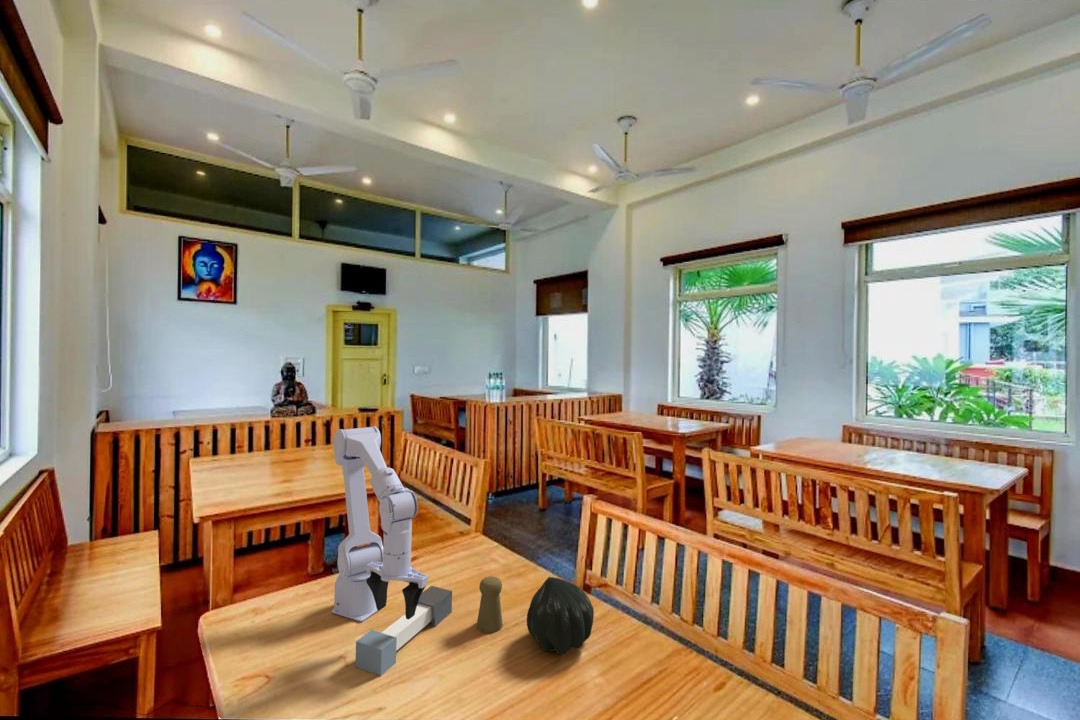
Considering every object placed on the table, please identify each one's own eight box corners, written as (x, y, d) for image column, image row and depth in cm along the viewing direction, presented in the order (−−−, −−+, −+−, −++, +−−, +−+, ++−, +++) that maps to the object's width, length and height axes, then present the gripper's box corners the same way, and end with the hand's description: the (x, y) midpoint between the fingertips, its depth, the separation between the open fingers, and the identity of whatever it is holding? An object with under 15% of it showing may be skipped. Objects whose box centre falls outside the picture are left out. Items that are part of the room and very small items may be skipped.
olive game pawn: (498, 634, 112) (499, 586, 112) (472, 630, 113) (474, 583, 113) (505, 620, 118) (507, 574, 118) (481, 616, 119) (482, 571, 119)
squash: (616, 628, 106) (585, 560, 114) (563, 656, 97) (532, 580, 105) (583, 646, 115) (556, 581, 123) (531, 672, 106) (505, 601, 114)
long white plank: (364, 661, 100) (365, 644, 100) (421, 615, 117) (422, 600, 117) (378, 666, 99) (378, 649, 98) (434, 618, 116) (434, 604, 116)
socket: (355, 666, 100) (355, 641, 99) (371, 654, 104) (371, 629, 104) (380, 676, 97) (381, 650, 97) (395, 662, 101) (396, 637, 101)
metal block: (413, 620, 117) (414, 598, 116) (431, 606, 123) (431, 585, 123) (434, 626, 114) (435, 604, 114) (451, 612, 121) (452, 591, 121)
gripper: (356, 549, 104) (355, 613, 105) (413, 564, 99) (411, 631, 99) (379, 538, 111) (378, 597, 111) (434, 550, 105) (432, 613, 106)
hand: (395, 612), depth 106 cm, fingers open, 7 cm apart
